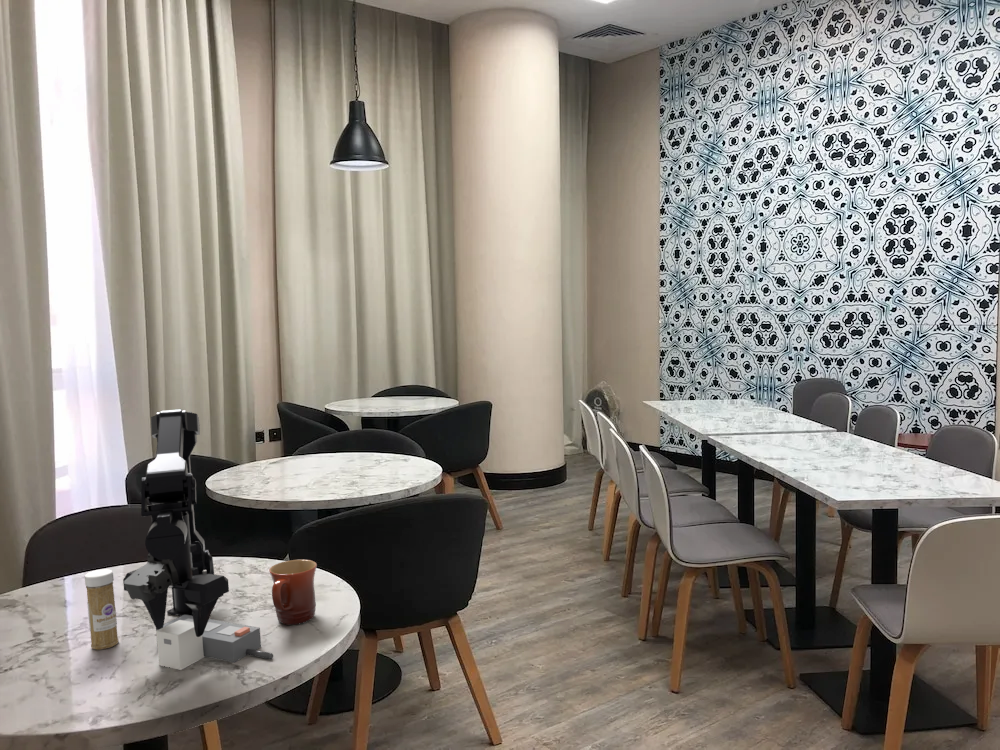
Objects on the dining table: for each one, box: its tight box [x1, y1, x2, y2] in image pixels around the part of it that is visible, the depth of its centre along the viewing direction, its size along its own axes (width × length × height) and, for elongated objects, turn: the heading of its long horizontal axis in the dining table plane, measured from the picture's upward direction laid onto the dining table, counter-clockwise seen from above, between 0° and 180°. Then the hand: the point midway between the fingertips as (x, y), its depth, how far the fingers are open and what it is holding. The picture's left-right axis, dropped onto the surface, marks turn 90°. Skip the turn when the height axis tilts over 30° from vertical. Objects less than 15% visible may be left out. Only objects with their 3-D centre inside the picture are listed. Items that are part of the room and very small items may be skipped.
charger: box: [155, 620, 205, 671], centre depth 136 cm, size 5×8×6 cm, turn 155°
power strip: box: [155, 615, 274, 663], centre depth 139 cm, size 24×6×4 cm, turn 65°
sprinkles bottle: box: [84, 568, 120, 651], centre depth 143 cm, size 5×5×14 cm
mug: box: [269, 559, 318, 626], centre depth 149 cm, size 12×9×10 cm
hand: (179, 632), depth 135 cm, fingers open, 9 cm apart
